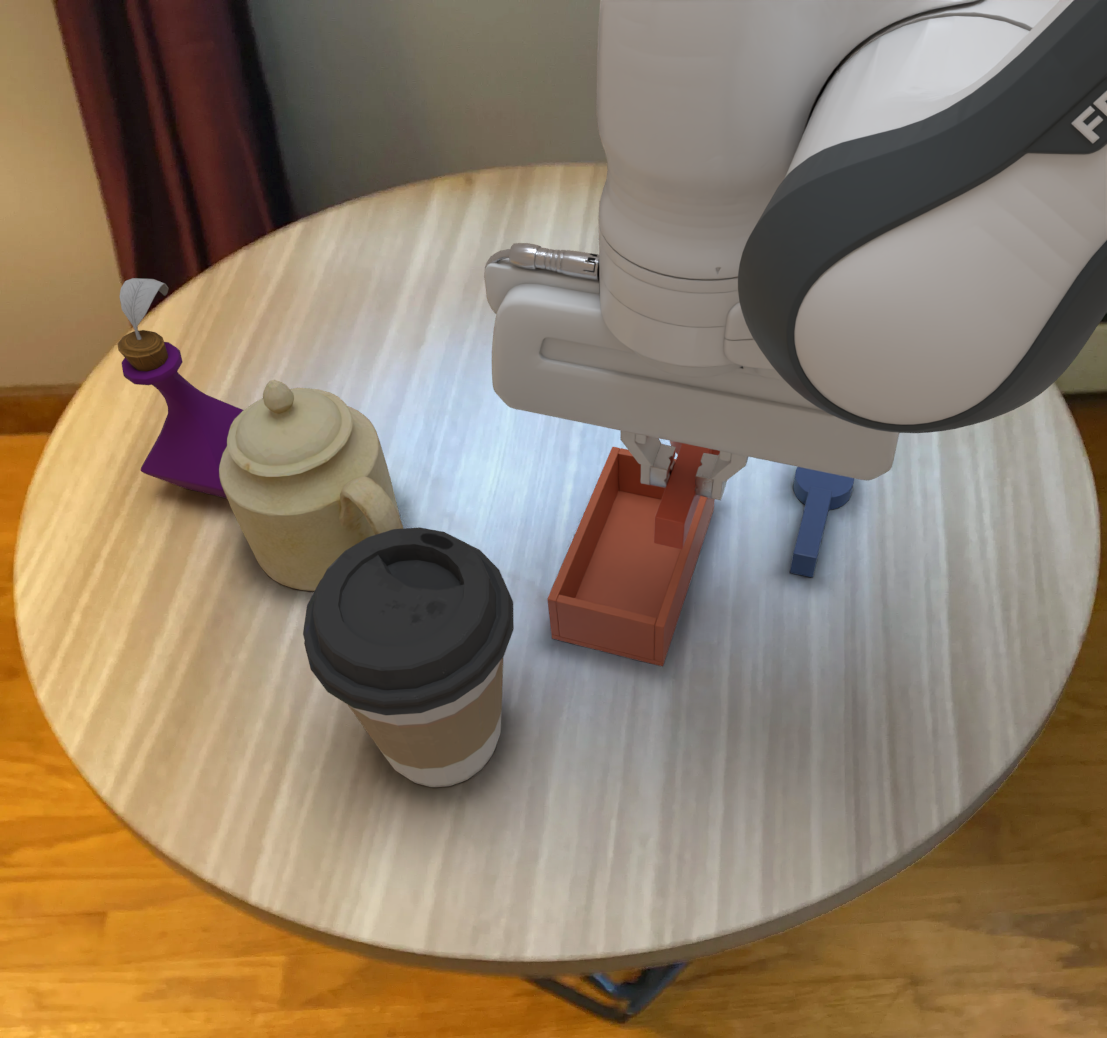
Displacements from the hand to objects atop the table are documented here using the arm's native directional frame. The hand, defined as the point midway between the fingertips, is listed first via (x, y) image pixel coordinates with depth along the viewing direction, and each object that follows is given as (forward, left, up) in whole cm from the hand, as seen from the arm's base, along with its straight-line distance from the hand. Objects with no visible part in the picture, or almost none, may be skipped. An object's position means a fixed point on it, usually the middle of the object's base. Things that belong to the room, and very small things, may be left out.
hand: (684, 483), depth 56 cm
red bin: (+4, -5, -16) cm, 17 cm away
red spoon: (0, -2, -2) cm, 3 cm away
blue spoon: (-7, -13, -16) cm, 22 cm away
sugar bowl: (+25, -2, -16) cm, 30 cm away
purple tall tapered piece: (+38, -5, -16) cm, 42 cm away
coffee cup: (+12, +11, -16) cm, 23 cm away
